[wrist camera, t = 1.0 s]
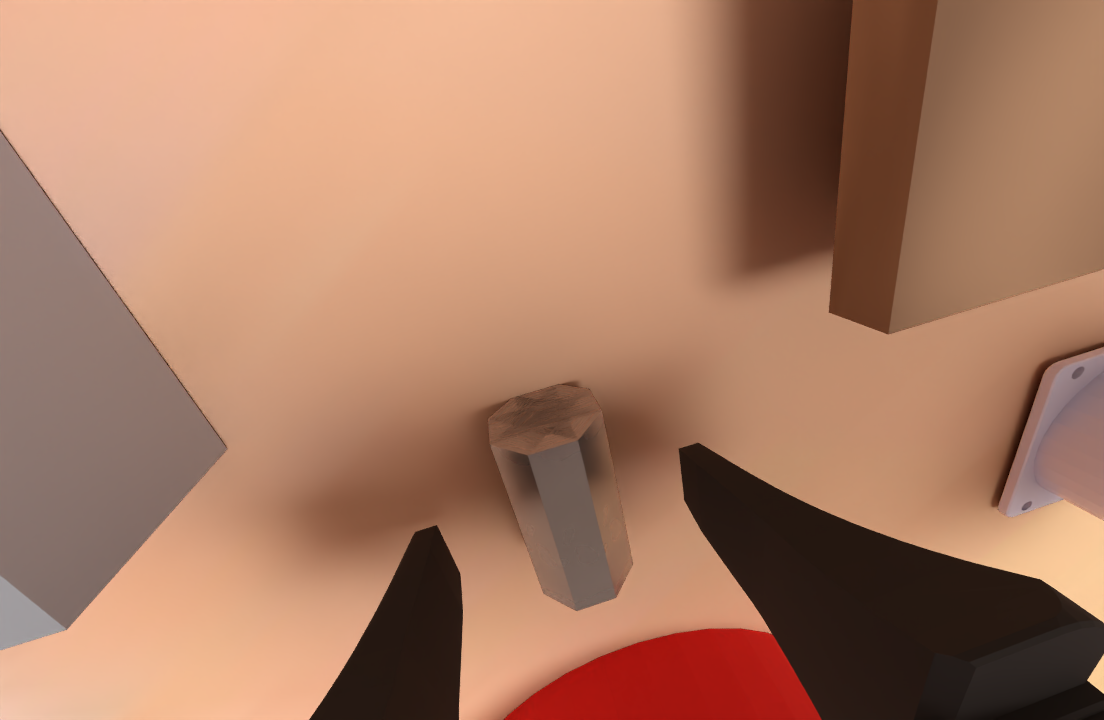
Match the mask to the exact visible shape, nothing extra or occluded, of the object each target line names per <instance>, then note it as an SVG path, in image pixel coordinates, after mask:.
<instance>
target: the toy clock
mask: <svg viewBox="0 0 1104 720" xmlns="http://www.w3.org/2000/svg"><path fill="white" fill-rule="evenodd" d="M504 720H822V719H821V718H820V716H819V714H818V712H817V710H816V709H815V707H814V705H813V703H812V701H811V700H810V698H809V696H808V694H807V693H806V691H805V689H804V687H803V686H802V684H801V682H800V680H799V679H798V677H797V675H796V673H795V672H794V670H793V668H792V666H791V665H790V663H789V661H788V659H787V658H786V656H785V654H784V653H783V651H782V649H781V648H780V646H779V644H778V643H777V641H776V639H775V638H774V636H773V635H772V634H769V633H766V632H760V631H753V630H747V629H704V630H697V631H689V632H682V633H675V634H671V635H667V636H663V637H659V638H655V639H651V640H647V641H643V642H639V643H636V644H633V645H631V646H628V647H625V648H623V649H620V650H617V651H614V652H612V653H609V654H606V655H604V656H601V657H599V658H597V659H595V660H593V661H591V662H589V663H587V664H585V665H583V666H581V667H579V668H576V669H574V670H572V671H570V672H568V673H566V674H565V675H563V676H562V677H560V678H558V679H557V680H555V681H554V682H552V683H550V684H549V685H547V686H546V687H544V688H543V689H541V690H539V691H538V692H536V693H535V694H533V695H532V696H531V697H530V698H529V699H527V700H526V701H525V702H524V703H522V704H521V705H520V706H519V707H517V708H516V709H515V710H514V711H513V712H511V713H510V714H509V715H508V716H507V717H506V718H505V719H504Z"/></svg>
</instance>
